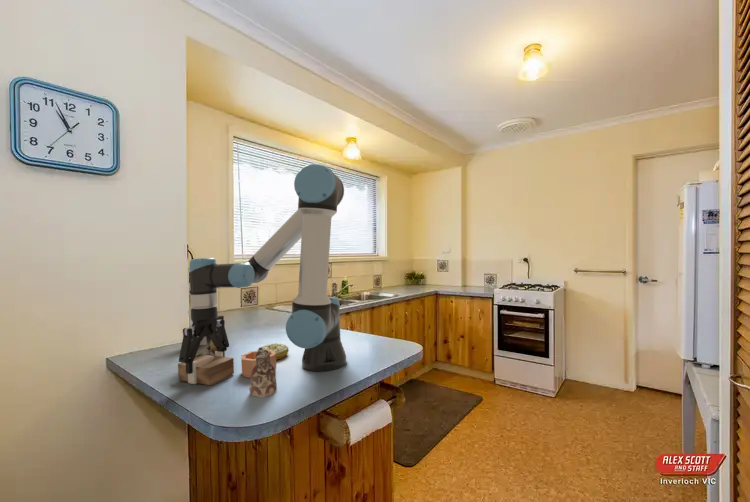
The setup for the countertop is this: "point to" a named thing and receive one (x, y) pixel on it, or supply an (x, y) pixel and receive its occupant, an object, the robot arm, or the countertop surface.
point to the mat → (221, 380)
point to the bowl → (254, 362)
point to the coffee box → (208, 344)
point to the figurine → (263, 375)
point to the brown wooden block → (208, 369)
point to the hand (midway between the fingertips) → (206, 376)
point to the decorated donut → (277, 349)
